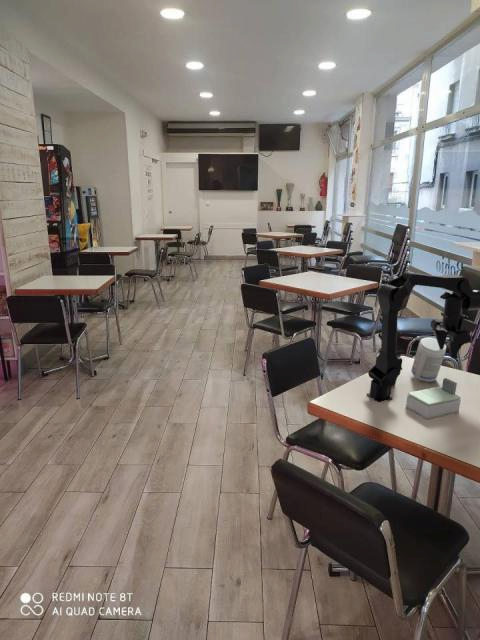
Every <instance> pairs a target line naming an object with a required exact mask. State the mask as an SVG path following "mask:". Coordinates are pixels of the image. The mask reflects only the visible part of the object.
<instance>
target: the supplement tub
mask: <svg viewBox="0 0 480 640" xmlns="http://www.w3.org/2000/svg"><path fill="white" fill-rule="evenodd" d="M446 350H447V344H445V345H444V348H443V349H440V348H439V345H438V342H437V339H436V337H428V336H427V337H423V338H421V339H420V340H419V343H418V346H417V350H416V354H415V356H414V359H413V363H412V366H411V371H410V372H411V375H413V377H414V378H416V379H417V380H419V381H423V382H427V383H431V382H434V381H435V380H436V379H437V377H438V375H439V372H440V371H441V366H442V364H443V363H442V362H443V360H444V357H445V354H446V352H447V351H446Z"/></svg>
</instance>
